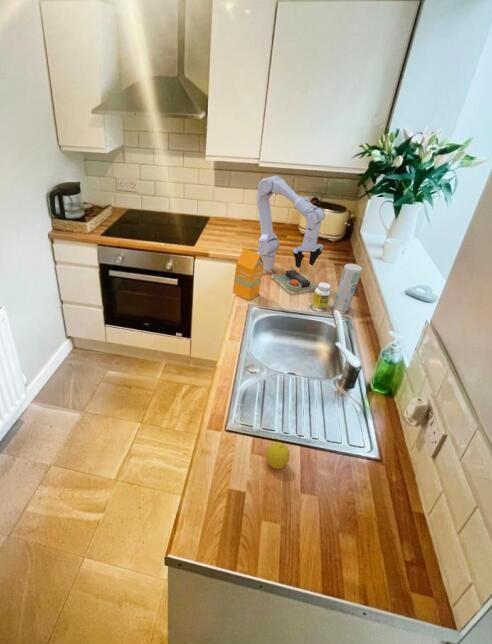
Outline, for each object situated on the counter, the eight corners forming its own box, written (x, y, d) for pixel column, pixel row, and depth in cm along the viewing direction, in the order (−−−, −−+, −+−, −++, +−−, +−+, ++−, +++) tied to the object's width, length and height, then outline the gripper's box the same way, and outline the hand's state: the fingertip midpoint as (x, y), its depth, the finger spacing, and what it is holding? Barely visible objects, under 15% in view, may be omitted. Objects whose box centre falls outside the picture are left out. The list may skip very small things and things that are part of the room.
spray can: (344, 316, 164) (358, 272, 153) (329, 310, 167) (342, 266, 156) (350, 310, 168) (364, 267, 157) (335, 304, 171) (348, 262, 160)
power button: (288, 283, 179) (289, 279, 178) (295, 282, 180) (295, 278, 179) (292, 287, 176) (293, 283, 175) (299, 286, 178) (300, 282, 177)
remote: (285, 275, 190) (286, 270, 188) (293, 274, 191) (294, 269, 190) (301, 288, 180) (302, 282, 178) (309, 286, 181) (310, 281, 179)
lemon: (261, 457, 104) (266, 436, 99) (282, 456, 104) (288, 435, 100) (267, 475, 99) (272, 455, 95) (288, 474, 99) (295, 454, 95)
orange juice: (243, 287, 181) (249, 246, 170) (258, 294, 176) (266, 252, 165) (232, 292, 176) (237, 250, 165) (248, 300, 171) (255, 257, 160)
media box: (271, 278, 189) (272, 272, 187) (297, 275, 194) (298, 268, 192) (290, 295, 177) (291, 288, 175) (317, 291, 181) (319, 284, 179)
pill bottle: (318, 313, 165) (324, 289, 159) (307, 306, 169) (313, 283, 163) (328, 310, 167) (335, 286, 161) (318, 303, 172) (324, 280, 166)
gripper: (303, 242, 167) (297, 271, 175) (330, 238, 173) (322, 266, 180) (292, 236, 173) (287, 265, 180) (319, 232, 178) (312, 260, 185)
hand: (304, 265), depth 180 cm, fingers open, 7 cm apart
